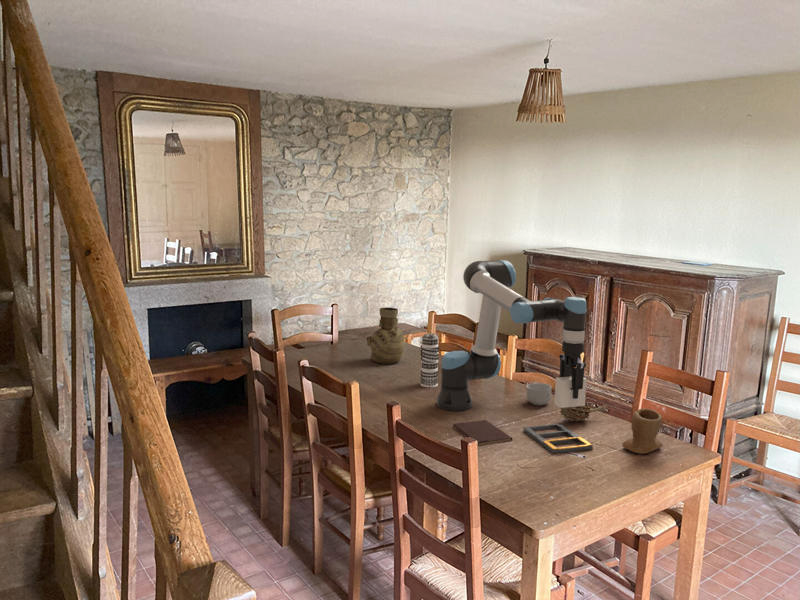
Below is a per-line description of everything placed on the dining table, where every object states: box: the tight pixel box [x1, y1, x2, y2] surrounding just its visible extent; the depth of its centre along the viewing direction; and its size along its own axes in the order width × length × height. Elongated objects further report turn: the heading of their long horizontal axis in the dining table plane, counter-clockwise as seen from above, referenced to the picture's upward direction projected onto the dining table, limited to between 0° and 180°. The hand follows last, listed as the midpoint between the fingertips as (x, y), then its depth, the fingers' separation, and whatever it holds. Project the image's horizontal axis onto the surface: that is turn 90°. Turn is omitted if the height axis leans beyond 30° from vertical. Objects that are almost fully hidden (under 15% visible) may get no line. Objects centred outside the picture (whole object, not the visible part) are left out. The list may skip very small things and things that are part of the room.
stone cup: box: [621, 408, 664, 455], centre depth 221 cm, size 15×12×15 cm
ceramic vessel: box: [366, 306, 405, 365], centre depth 336 cm, size 19×21×30 cm
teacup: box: [525, 381, 553, 406], centre depth 273 cm, size 14×11×8 cm
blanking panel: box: [554, 376, 587, 409], centre depth 220 cm, size 10×4×10 cm, turn 106°
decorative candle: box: [420, 332, 440, 388], centre depth 295 cm, size 9×9×25 cm
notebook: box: [452, 419, 513, 446], centre depth 236 cm, size 15×20×2 cm
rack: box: [522, 423, 594, 455], centre depth 230 cm, size 16×23×2 cm
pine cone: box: [559, 401, 609, 422], centre depth 251 cm, size 22×10×10 cm, turn 110°
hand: (569, 404), depth 221 cm, fingers closed on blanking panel, 4 cm apart
